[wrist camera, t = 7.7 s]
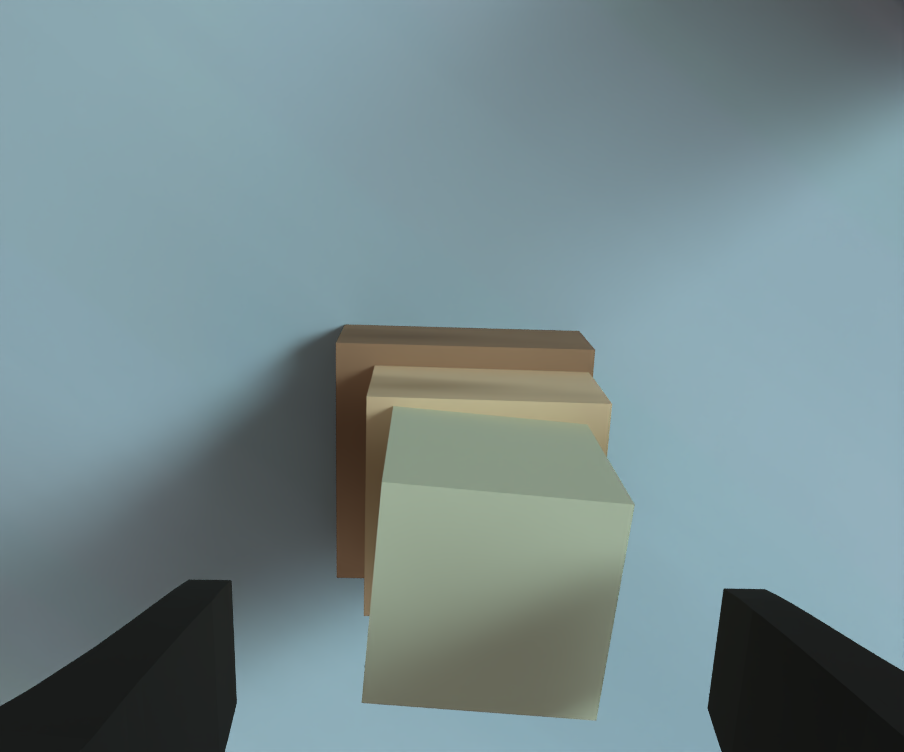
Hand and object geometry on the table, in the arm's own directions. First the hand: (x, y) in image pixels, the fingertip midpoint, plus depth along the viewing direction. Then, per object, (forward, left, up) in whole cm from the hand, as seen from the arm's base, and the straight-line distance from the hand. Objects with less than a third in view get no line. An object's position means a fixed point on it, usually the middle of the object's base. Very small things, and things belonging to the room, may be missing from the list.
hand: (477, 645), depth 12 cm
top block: (0, 0, -5) cm, 5 cm away
